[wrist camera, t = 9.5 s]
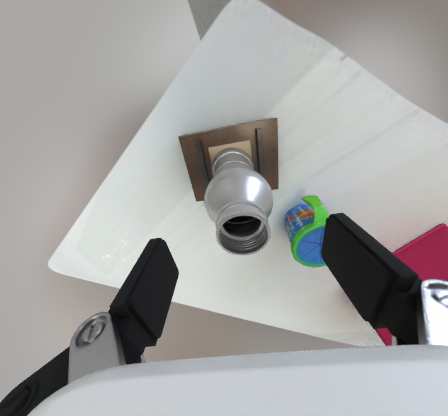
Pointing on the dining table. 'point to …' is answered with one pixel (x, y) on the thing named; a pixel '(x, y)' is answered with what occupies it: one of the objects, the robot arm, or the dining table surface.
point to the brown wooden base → (225, 138)
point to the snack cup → (307, 231)
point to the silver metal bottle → (238, 203)
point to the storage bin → (424, 261)
